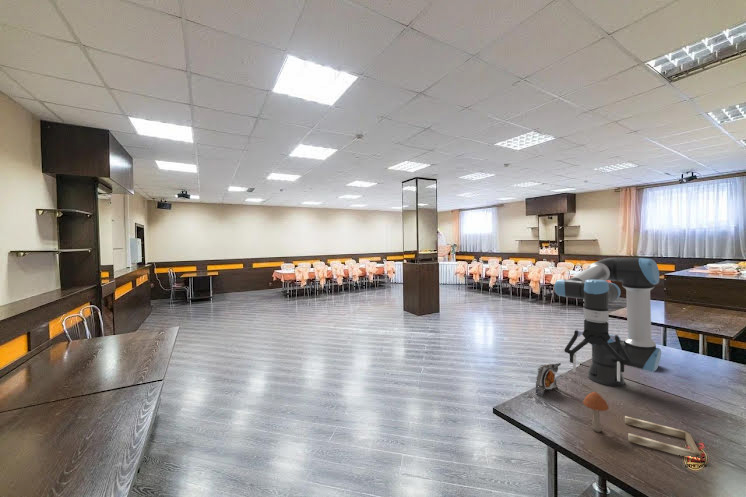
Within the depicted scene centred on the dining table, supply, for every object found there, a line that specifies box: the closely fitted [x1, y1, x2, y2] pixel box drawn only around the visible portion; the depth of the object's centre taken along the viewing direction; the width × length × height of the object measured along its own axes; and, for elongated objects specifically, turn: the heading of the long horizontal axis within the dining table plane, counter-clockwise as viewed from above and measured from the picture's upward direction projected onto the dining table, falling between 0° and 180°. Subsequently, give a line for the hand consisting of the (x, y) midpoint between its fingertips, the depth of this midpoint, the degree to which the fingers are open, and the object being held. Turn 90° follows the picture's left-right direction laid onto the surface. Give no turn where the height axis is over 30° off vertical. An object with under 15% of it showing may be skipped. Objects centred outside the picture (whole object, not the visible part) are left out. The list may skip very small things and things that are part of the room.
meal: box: [535, 362, 562, 398], centre depth 146 cm, size 15×4×13 cm, turn 122°
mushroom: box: [582, 391, 610, 433], centre depth 116 cm, size 8×8×15 cm
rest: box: [624, 415, 702, 459], centre depth 109 cm, size 18×14×3 cm
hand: (595, 375), depth 115 cm, fingers open, 13 cm apart
